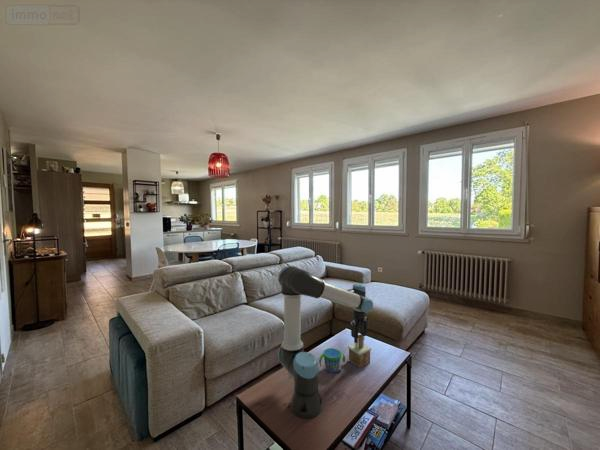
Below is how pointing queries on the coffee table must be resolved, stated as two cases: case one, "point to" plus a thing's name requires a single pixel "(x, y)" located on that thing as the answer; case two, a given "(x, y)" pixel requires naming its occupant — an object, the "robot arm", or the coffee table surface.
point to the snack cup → (332, 359)
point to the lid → (361, 348)
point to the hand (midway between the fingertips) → (359, 346)
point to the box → (359, 358)
